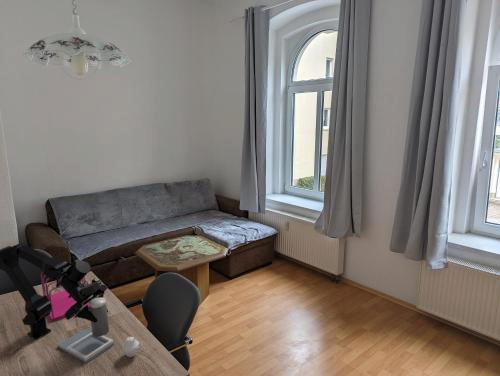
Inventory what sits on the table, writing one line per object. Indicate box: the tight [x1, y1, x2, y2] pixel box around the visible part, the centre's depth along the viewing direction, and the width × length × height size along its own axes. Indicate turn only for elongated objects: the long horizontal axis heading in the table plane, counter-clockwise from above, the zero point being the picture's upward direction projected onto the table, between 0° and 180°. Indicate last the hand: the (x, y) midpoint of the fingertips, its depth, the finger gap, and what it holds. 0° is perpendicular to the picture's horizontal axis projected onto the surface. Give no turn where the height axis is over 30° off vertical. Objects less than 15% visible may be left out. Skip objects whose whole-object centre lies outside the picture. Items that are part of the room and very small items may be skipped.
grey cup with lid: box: [89, 297, 110, 337], centre depth 136 cm, size 6×6×13 cm
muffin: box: [121, 336, 140, 358], centre depth 131 cm, size 6×6×7 cm
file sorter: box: [40, 271, 90, 323], centre depth 167 cm, size 17×25×16 cm
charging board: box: [56, 328, 115, 364], centre depth 137 cm, size 18×12×2 cm, turn 59°
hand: (102, 317), depth 136 cm, fingers closed on grey cup with lid, 6 cm apart
